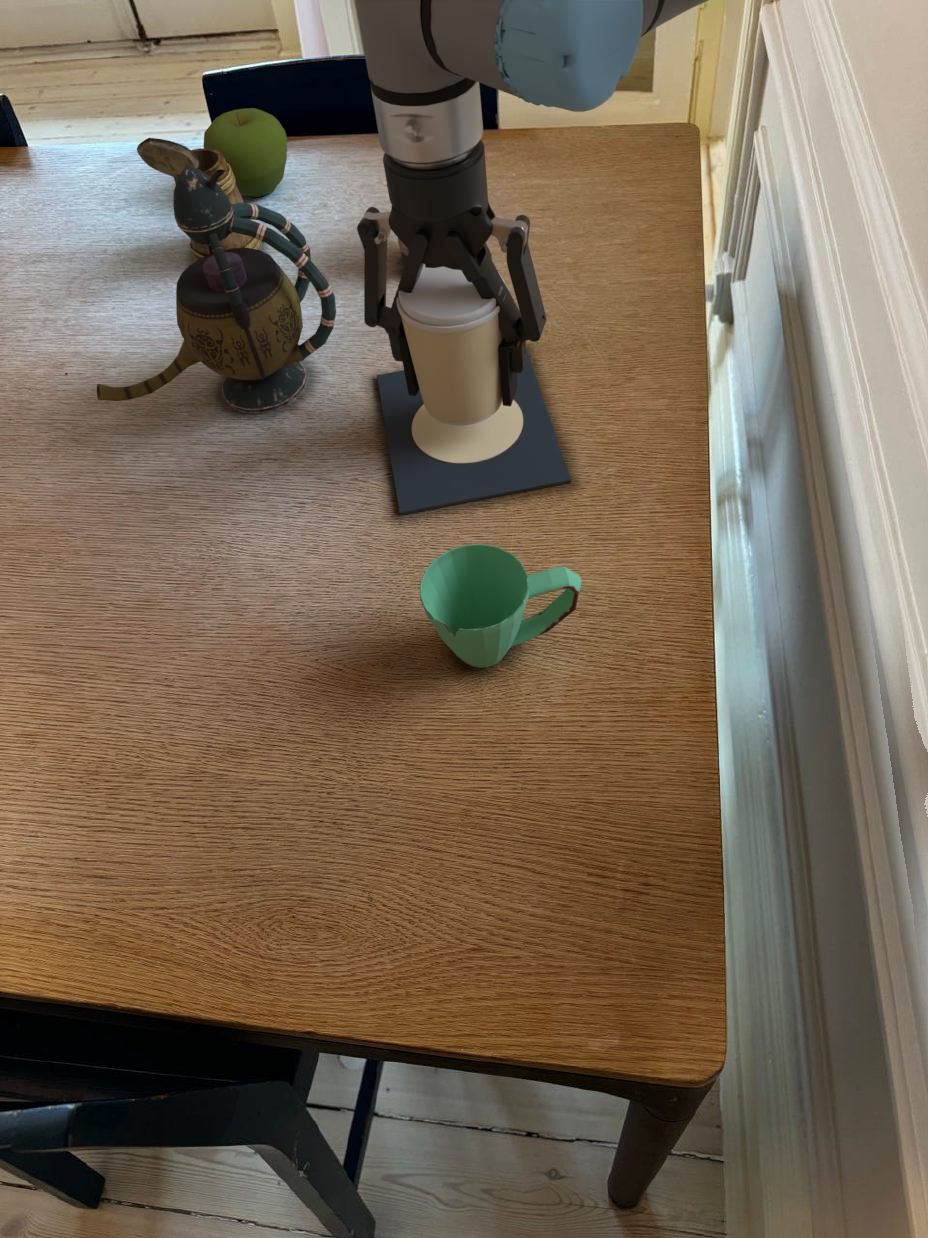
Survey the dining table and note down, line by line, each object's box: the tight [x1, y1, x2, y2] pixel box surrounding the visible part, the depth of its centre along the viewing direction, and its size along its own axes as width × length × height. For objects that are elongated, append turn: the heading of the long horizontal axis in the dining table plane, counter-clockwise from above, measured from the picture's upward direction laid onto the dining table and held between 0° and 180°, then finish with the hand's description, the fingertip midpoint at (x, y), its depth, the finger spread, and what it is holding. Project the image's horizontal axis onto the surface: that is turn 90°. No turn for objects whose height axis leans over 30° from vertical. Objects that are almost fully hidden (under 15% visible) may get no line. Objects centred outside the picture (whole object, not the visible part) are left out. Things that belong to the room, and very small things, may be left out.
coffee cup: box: [397, 264, 507, 426], centre depth 76 cm, size 9×9×12 cm
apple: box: [202, 107, 288, 198], centre depth 111 cm, size 11×10×10 cm
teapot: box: [96, 165, 337, 414], centre depth 81 cm, size 12×25×23 cm, turn 111°
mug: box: [419, 543, 582, 669], centre depth 65 cm, size 12×8×8 cm, turn 99°
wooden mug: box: [136, 137, 263, 263], centre depth 98 cm, size 9×14×18 cm, turn 173°
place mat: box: [376, 348, 572, 516], centre depth 84 cm, size 20×16×1 cm
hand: (462, 390), depth 80 cm, fingers closed on coffee cup, 8 cm apart
